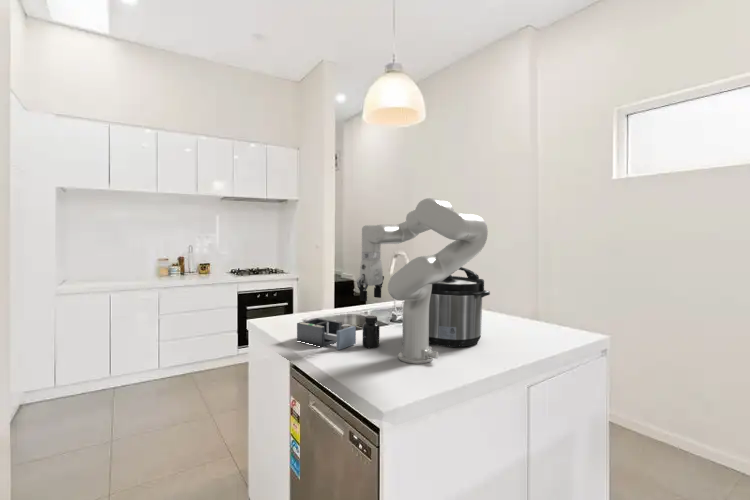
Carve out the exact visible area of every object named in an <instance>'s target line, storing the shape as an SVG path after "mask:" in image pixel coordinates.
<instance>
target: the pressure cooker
mask: <svg viewBox="0 0 750 500" xmlns="http://www.w3.org/2000/svg"><path fill="white" fill-rule="evenodd" d="M458 270H459V271H463V272H464V273H465V274H466V277H465V276H459V275H452V274H451V275H450V276H448V277H447V278H446V279H445V280H443V281H441V282H439V283H434V284H432V291H431V297H430V304H429V344H432V345H435V346H437V345H438V346H441V347H451V348H452V347H453V348H454V347H469V346H472V345H473V346H474V345H475V344H477V343H478V342H479V341H480V339H481V338H482V337H481V336H482V321H483V320H482V317H483V315H482V313H483V298H485V297H486V296H490V295H491V291H489V290H485V280H484V279H483V278H480V277H479V274H477V273H476V272H475V271H473V270H470V269H468V268H465V267H463V266H462V267H461V268H460V269H458ZM458 270H457V271H458Z"/></svg>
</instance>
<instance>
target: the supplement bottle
mask: <svg viewBox="0 0 750 500" xmlns="http://www.w3.org/2000/svg"><path fill="white" fill-rule="evenodd" d="M364 321H365V322H364V323H363V324H362V341H361V342H362V343H361V344H362V347H363V348H365V349H378V348H379V347H380V329H381V327H380V326H381V325H380V324H379V323H378V316H376V315H366V316H365V318H364Z"/></svg>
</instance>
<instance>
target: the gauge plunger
mask: <svg viewBox="0 0 750 500" xmlns="http://www.w3.org/2000/svg"><path fill="white" fill-rule="evenodd" d="M324 323H326V333H325V339H328V340H333V341H337V343H336V350H339V351H340V350H343V349H345V348H348V347H351V346H353V345H355V344H356V343H357V342H356V341H357V336H356V334H357V333H356V332H357V331H356V328H357V327H356V326H355V325H354V326H353V325H352V326H348V327H344V328H342V329H341V330H338V331H337V335H335V334H330V333H329V322H328V321H325V322H321V323H318V324H315V326H316V325H320V324H324Z"/></svg>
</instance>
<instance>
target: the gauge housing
mask: <svg viewBox="0 0 750 500" xmlns="http://www.w3.org/2000/svg"><path fill="white" fill-rule="evenodd" d="M325 321H328V322H329V333H330V334H335V335H337V331H338V330H341V329H343V326H342V323H343V322H342V321H338V320H337V321H336V320H331V319H323V318H320V317H316V318H311V319H307V320H304V321H303V320H302V321H299V322H297V323H296V342H297V341H301V342H305V343H309V344H313V345H316V346H320V347H323V348H325V347H324V346H326V347H328V346H327V345H329V346H331V345H330V344H332V345H334V344H333V343H335V344H337V343H336V342H337V341H333V340H328V339H325V333H326V323H324V324H320V325H316V326H315V324H318V323H321V322H325ZM316 346H315V347H316ZM320 347H319V348H320Z"/></svg>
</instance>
